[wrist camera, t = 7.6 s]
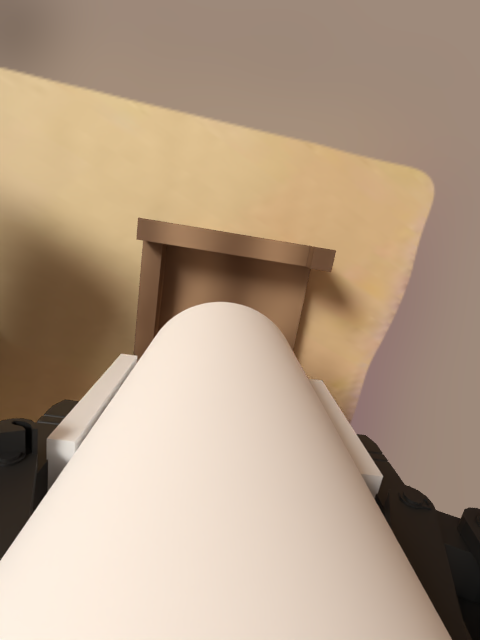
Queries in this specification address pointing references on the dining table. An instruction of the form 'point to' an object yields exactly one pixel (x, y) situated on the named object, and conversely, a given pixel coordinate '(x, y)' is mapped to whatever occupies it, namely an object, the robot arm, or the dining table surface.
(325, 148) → the dining table surface
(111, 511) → the cup
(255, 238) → the tray
